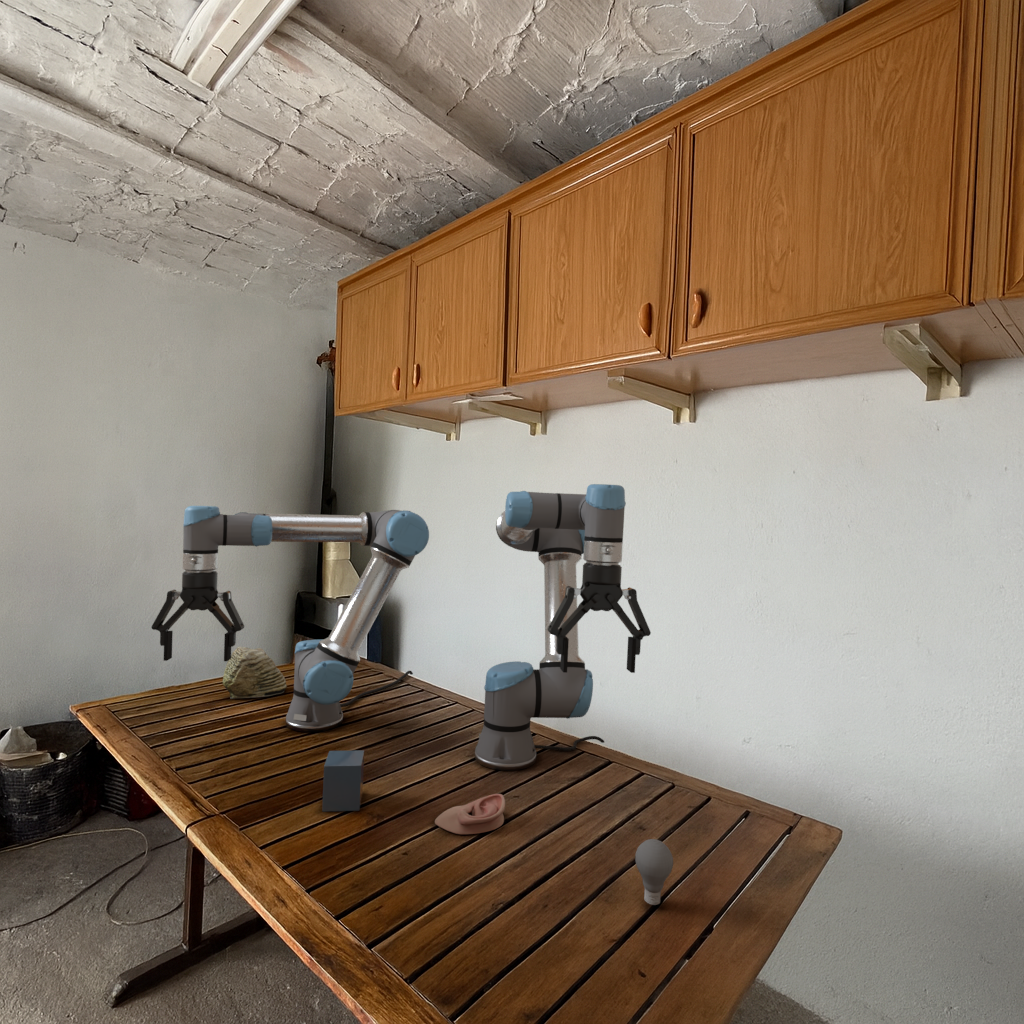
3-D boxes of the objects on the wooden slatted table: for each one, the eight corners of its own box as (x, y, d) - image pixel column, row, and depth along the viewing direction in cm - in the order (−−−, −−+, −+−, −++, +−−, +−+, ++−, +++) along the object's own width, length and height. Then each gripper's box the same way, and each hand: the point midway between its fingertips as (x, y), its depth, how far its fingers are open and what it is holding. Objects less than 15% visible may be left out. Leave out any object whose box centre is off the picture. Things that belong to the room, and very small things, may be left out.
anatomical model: (430, 809, 122) (447, 784, 133) (429, 830, 122) (447, 802, 133) (497, 819, 119) (509, 792, 130) (496, 840, 119) (508, 811, 131)
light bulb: (629, 891, 105) (631, 831, 105) (664, 890, 106) (667, 831, 106) (639, 914, 99) (642, 851, 99) (676, 914, 100) (679, 851, 100)
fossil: (218, 695, 195) (220, 647, 195) (278, 685, 208) (279, 640, 207) (228, 703, 189) (230, 653, 188) (289, 692, 201) (290, 645, 201)
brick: (322, 811, 127) (324, 766, 127) (327, 793, 135) (329, 750, 135) (359, 810, 129) (361, 765, 128) (362, 793, 136) (364, 750, 136)
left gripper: (137, 571, 145) (134, 663, 146) (249, 573, 148) (247, 664, 148) (152, 567, 153) (149, 654, 153) (259, 570, 155) (256, 656, 156)
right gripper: (543, 563, 119) (538, 675, 119) (670, 566, 122) (665, 676, 123) (536, 559, 126) (531, 665, 126) (656, 562, 130) (651, 665, 130)
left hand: (197, 659), depth 151 cm, fingers open, 13 cm apart
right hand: (597, 670), depth 124 cm, fingers open, 13 cm apart
